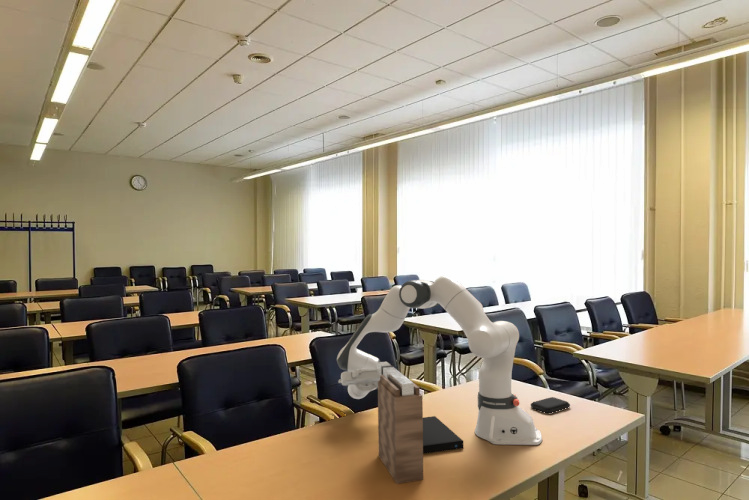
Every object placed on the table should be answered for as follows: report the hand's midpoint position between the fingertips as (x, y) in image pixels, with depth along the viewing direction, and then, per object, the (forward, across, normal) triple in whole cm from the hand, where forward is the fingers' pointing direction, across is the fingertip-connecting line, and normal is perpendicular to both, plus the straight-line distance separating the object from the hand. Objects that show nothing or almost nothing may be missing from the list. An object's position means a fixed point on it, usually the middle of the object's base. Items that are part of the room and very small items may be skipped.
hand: (371, 370), depth 171 cm
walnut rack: (+16, 0, +34) cm, 38 cm away
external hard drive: (0, +17, +26) cm, 31 cm away
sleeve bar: (+24, 0, +11) cm, 26 cm away
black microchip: (-11, +74, +19) cm, 78 cm away
